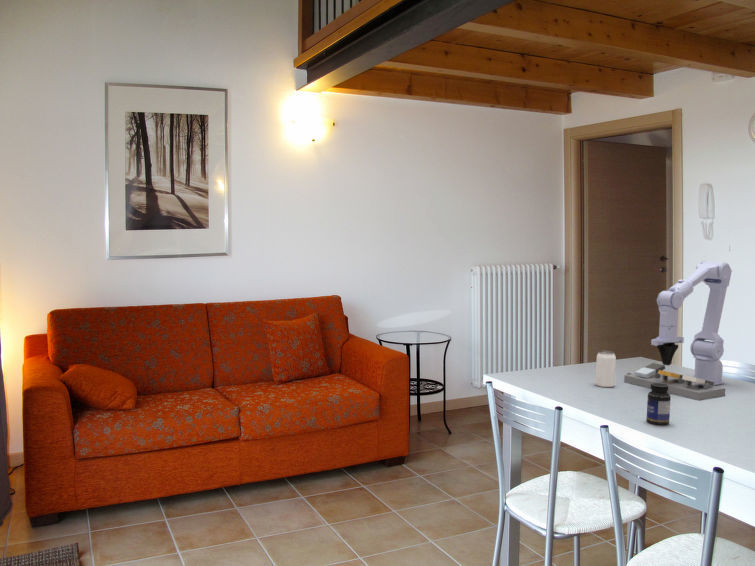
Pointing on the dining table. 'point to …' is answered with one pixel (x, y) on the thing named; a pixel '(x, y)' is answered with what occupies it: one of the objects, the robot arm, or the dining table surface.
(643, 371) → the rocker
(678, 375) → the block
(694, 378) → the rocker
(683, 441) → the dining table surface
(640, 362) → the dining table surface
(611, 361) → the can
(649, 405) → the pill bottle
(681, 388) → the rocker switch panel
